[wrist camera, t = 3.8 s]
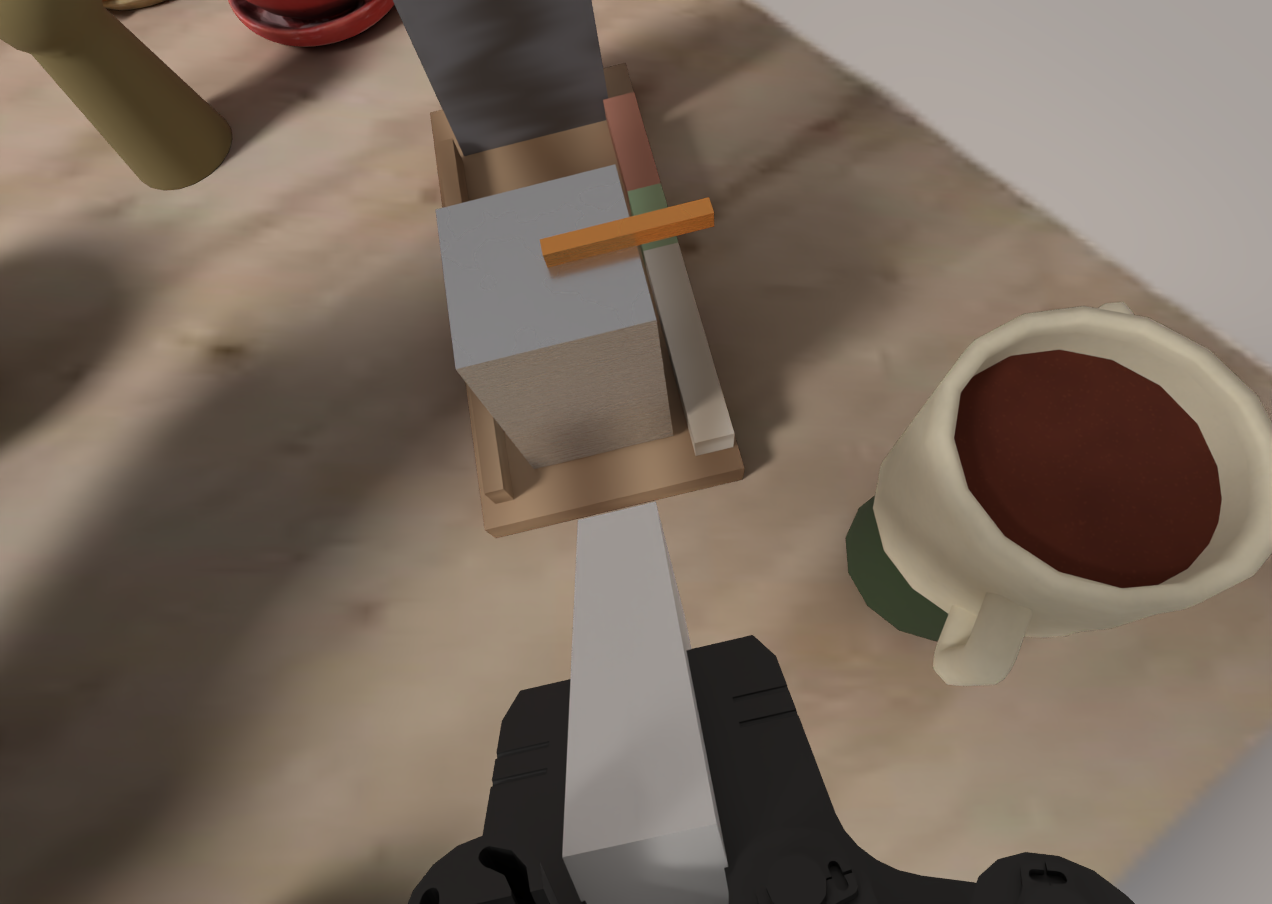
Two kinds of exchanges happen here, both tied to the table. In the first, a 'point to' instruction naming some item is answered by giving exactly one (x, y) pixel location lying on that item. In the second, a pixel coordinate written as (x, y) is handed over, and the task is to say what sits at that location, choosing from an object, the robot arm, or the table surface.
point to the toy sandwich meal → (129, 4)
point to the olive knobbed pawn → (121, 89)
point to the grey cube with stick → (561, 313)
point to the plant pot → (309, 19)
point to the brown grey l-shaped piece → (547, 150)
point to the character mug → (1065, 489)
